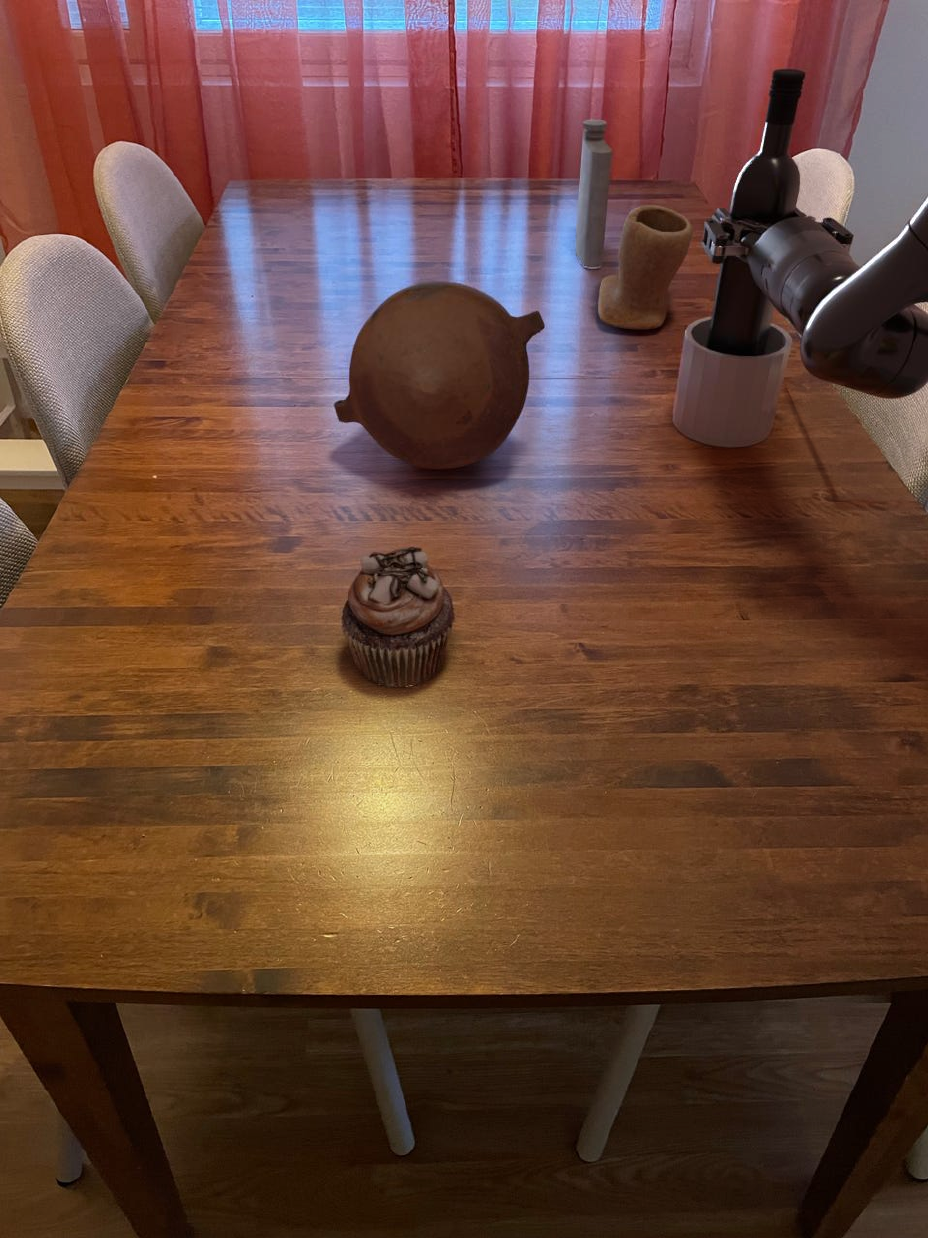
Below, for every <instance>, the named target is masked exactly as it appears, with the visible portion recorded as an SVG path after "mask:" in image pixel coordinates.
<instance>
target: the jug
mask: <svg viewBox="0 0 928 1238" xmlns="http://www.w3.org/2000/svg"><path fill="white" fill-rule="evenodd" d="M545 328H546V324H545V322H544V319H543V317H542V315H541V313H540V311H539V310H535V311H532V312H530V313H527V314H524V315H520V316H513V315H511V314H510V312H509V311H508V310H507V308H505V307H504V305H502V304H501V303H500V302H499V301H498V300H496V299H495V298H494V297H493V296H491V295H489V294H487V293H486V292H484V291H481V290H479V289H478V288H475V287H473V286H470V285H467V284H463V283H460V282H455V281H445V280H433V281H425V282H419V283H416V284H413V285H409V286H407V287H404V288H403V289H402V288H401V289H400V290H398V291H396V292H394V293H393V294H391V295H390V296H389V297H387V298H386V299H385V300H383V301H382V302H381V303H380V304H379V306H377V308H376V309H375V310H374V311H373V312H372V313H371V315H370V316H369V317H368V318H367V319H366V321H365V322H364V323H363V325H362V327H361V328H360V330H359V332H358V334H357V336H356V338H355V341H354V344H353V347H352V350H351V355H350V361H349V367H348V387H349V390H348V394H347V396H346V398H344V399H338V400H337V401H335V402H334V403H333V408H334V411H335V415H336V416H337V420H338V422H340V423H344V424H349V423H357V424H360V425H361V426H362V427H363V428H364V429H365V430H366V432H367V433H368V434H369V435H370V436H371V438H373V440H374V441H375V442H376V444H378V445H379V446H380V448H382V449H383V450H384V451H385V452H387V453H388V454H390V455H391V456H392V457H394V458H396V459H398V460H400V461H401V462H404V463H406V464H409V465H412V466H414V467H418V468H422V469H429V470H448V469H449V470H450V469H457V468H461V467H466V466H469V465H471V464H474V463H477V462H479V461H481V460H483V459H485V458H486V457H489V456H490V455H491V454H493V453H494V452H495V451H497V450H498V449H499V447H500V446H501V445H503V443H504V442H505V440H507V438H508V437H509V436H510V433H511V432H512V431H513V429H514V428H515V426H516V424H517V422H518V420H519V418H520V417H521V414H522V412H523V409H524V407H525V403H526V400H527V396H528V390H529V384H530V363H529V354H528V349H527V345H528V343H529V342H530V340H532V338H533V337H534V336H536V335H537V334H539V333H541V332H542V331H543V330H544V329H545Z"/></svg>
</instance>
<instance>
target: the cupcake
mask: <svg viewBox="0 0 928 1238" xmlns="http://www.w3.org/2000/svg"><path fill="white" fill-rule="evenodd" d="M361 557H362V558H361V559H360V567H361V570H360V571H359V573H358V574H357V575H356V576H355V578H354V579H353V581H352V582H351V584H350V586H349V589H348V592H347V599H346V601H345V603H344V605H343V608H342V611H341V613H342V616H341V617H340V619H341V622H340V623H341V631H342V632H343V635H344V637H345V640H346V641H347V645H348V648H349V650H350V653H351V656H352V659H353V661H354V663H355V665H356V667H357V670H358V672H359V673H360V674H361V675H362V676H363V677H364V678H365V679H366V680H367V681H369V680H370V681H369V682H371V681H373V682H375V683H374V684H376V683H377V684H376V685H378V684H380V685H385V686H388V687H387V688H390V687H389V686H397V687H406V686H409V685H415V684H418V685H420V684H421V683H422V682H421V681H425V680H427V679H429V678H431V679H432V678H433V676H434V677H435V675H436V674H437V673H439V672H440V671H441V669H442V666H443V664H444V663H445V661H446V660H445V658H446V652H447V646H448V642H449V638H450V635H451V631H452V628H453V626H454V622H455V620H456V619H455V618H456V613H455V608H454V603H453V598H452V596H451V594H450V592H449V591H448V590H447V589H446V587H444V584H443V581H442V578H441V577H440V575H439V573H438V572H437V571H436V570H435V569H433V567H431V565H429V564H428V563H429V556H428V553H426V552H424V551H422V547H414V546H410V547H404V548H399V549H395V550H393V551H391V552H387V553H383V552H377V551H373V552H372V553H371V554H368V555H363V556H361ZM429 680H430V679H429ZM427 681H428V680H427ZM373 682H372V683H373ZM420 682H421V683H420ZM425 682H426V681H425ZM419 683H420V684H419ZM380 685H379V686H380ZM385 686H384V687H385ZM415 686H416V685H415ZM397 687H396V688H397ZM406 688H407V687H406Z"/></svg>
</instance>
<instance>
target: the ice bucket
mask: <svg viewBox="0 0 928 1238" xmlns="http://www.w3.org/2000/svg"><path fill="white" fill-rule="evenodd" d="M711 317H712V315H711V316H705V317H703V318H700V319H697V320H694V321H693V322H691V323H690V324H688V325H687V327H686V329H685V331H684V335H683V342H682V349H681V355H680V362H679V369H678V374H677V382H676V387H675V394H674V401H673V407H672V419H671V420H672V423H673V426H674V427H675V429H676V430H677V431H678V432H679V433H680V434H681V435H683V436H685V437H686V438H688V439H690V440H692V441H695V442H697V443H701V444H704V445H708V446H712V447H719V448H743V447H744V448H745V447H750V446H754V445H757V444H759V443H762V442H763V441H765V440H766V439H767V438H768V437H770V435H771V434H772V431H773V427H774V424H775V419H776V414H777V411H778V406H779V401H780V398H781V393H782V389H783V385H784V380H785V376H786V371H787V368H788V363H789V358H790V354H791V350H792V346H793V341H794V340H793V338H792V336H791V334H790V333H789V332H788V331H786V330H785V329H784V328H783V327H781V326H779V325H777V324H775V323H773V322H771V326H770V330H769V335H768V340H767V344H766V349H765V354H764V355H762V356H735V355H728V354H722V353H719V352H715V351H712V350H710V349H708V348H706V346H707V341H708V335H709V329H710V323H711Z"/></svg>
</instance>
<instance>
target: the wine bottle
mask: <svg viewBox="0 0 928 1238" xmlns="http://www.w3.org/2000/svg"><path fill="white" fill-rule="evenodd" d="M771 78H772V79H771V81H770V83H771V84H770V87H769V88H770V89H769V90H768V97H769V99H768V105H767V110H766V116H765V120H764V127H763V132H762V137H761V143H760V148H759V151H758V152H757V153H756V154H755V155H753V156H752V157H751V158H750V159H749V160H748V161H747V162H746V163H745V164H744V166H743V168H742V169H741V170H740V172H739V173H738V176H737V178H736V181H735V183H734V187H733V189H732V190H733V191H732V195H731V200H730V201H731V202H730V207H729V211H728V213H729V214H730V215H731V216H732V217H733V219H735V220H738V221H740V220H744V219H751V220H754V221H757V222H760V223H762V224H768V223H771V224H774V225H775V224H776V223H778V222H780V221H782V220H785V219H788V218H792V217H794V213H795V209H796V207H797V203H798V199H799V195H800V190H801V173H800V169H799V165H798V164H797V163H796V160H795V159H794V158H793V157H792V156H791V155H790V154H789V149H790V144H791V140H792V133H793V129H794V124H795V119H796V115H797V110H798V105H799V99H800V98H801V97H802V94H803V93H802V90H803V85H804V80H805V79H806V72H805V71H803V70H801V69H795V68H778V69H775V70H773V71H772V73H771ZM751 232H752V230H749V231H748V234H749V233H751ZM734 234H735V230H734V229H732V231H731V236H730V239H733V240H734ZM715 289H716V290H715V295H714V301H713V306H712V312H711V316H712V317H711V316H710V317H711V323H710V329H709V335H708V341H707V346H706V348H708V349H710V350H712V351H715V352H719V353H722V354H728V355H735V356H762V355H764V354H765V349H766V344H767V340H768V335H769V330H770V326H771V323H772V321H773V317H774V311H775V307H774V306H773V304H772V303H771V302H770V300H769V299H768V298H767V297H766V295H765V294H764V293H763V291H762V290H761V289H760V288H759V286H758V285H757V284H756V282H755V280H754V278H753V276H752V273H751V269H750V265H749V264H748V263H746V262H744V261H742V260H741V259H740V258H739V257H737V256H726V258H725V259H724V262H723V263H721V264H719V271H718V276H717V283H716V288H715Z"/></svg>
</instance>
